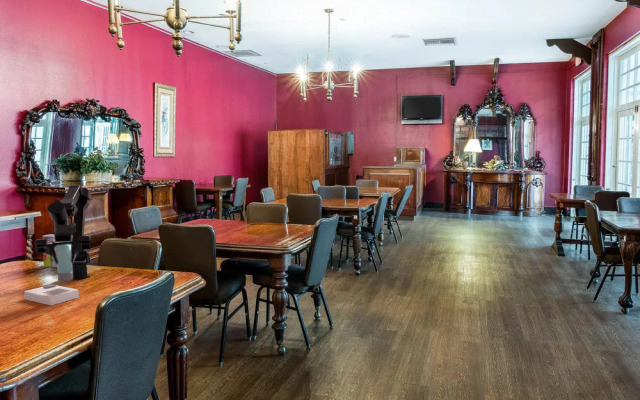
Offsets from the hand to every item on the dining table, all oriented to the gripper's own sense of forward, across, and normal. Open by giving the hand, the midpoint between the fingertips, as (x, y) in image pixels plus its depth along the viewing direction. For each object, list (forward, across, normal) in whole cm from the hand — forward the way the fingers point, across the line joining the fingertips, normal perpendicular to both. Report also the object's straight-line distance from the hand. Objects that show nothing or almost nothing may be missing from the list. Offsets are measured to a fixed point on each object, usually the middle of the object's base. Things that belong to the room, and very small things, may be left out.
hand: (64, 262), depth 189 cm
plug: (+4, 0, +6) cm, 7 cm away
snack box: (-32, 0, +52) cm, 61 cm away
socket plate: (+7, -5, +12) cm, 15 cm away
